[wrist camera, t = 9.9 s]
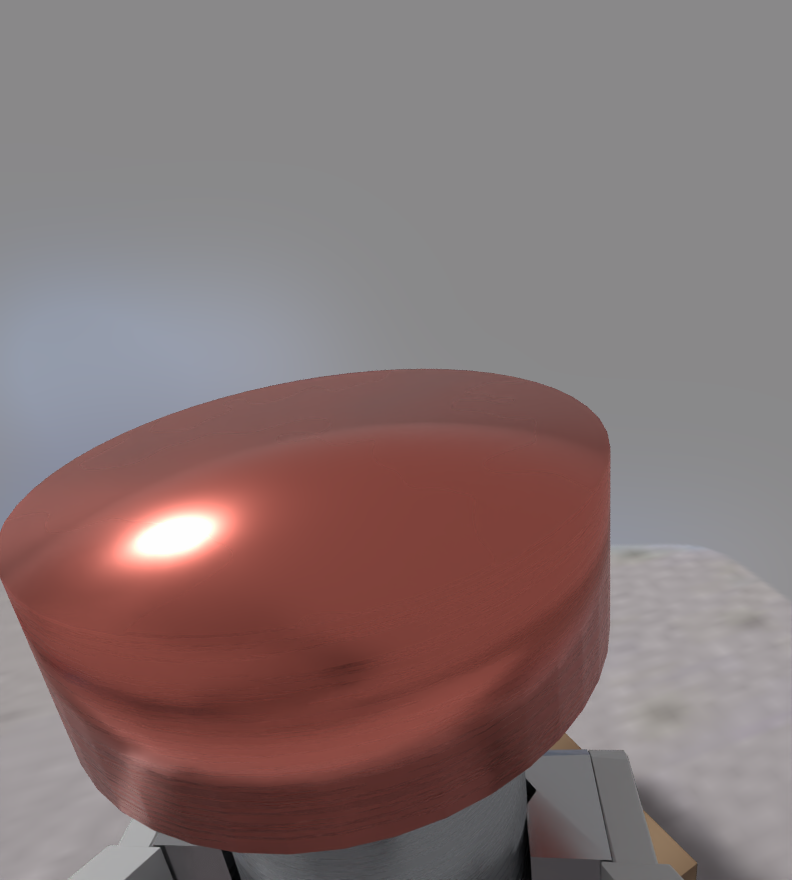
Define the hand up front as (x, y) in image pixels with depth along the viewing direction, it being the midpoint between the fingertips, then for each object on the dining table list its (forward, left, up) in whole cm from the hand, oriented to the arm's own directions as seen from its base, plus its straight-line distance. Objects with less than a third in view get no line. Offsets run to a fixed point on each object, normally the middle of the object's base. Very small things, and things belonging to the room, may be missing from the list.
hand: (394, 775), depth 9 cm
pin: (+1, -1, -8) cm, 8 cm away
